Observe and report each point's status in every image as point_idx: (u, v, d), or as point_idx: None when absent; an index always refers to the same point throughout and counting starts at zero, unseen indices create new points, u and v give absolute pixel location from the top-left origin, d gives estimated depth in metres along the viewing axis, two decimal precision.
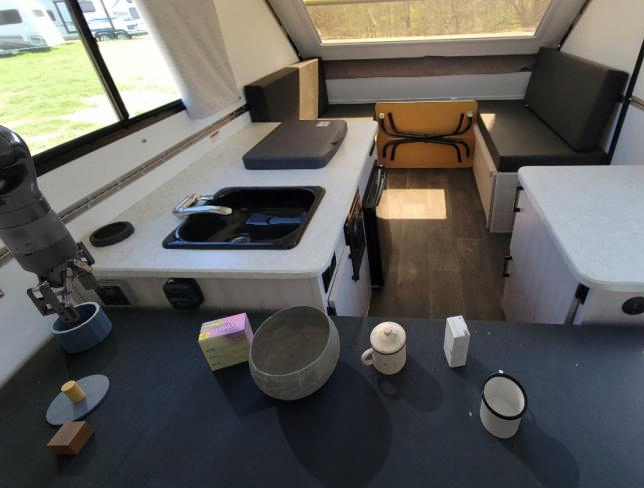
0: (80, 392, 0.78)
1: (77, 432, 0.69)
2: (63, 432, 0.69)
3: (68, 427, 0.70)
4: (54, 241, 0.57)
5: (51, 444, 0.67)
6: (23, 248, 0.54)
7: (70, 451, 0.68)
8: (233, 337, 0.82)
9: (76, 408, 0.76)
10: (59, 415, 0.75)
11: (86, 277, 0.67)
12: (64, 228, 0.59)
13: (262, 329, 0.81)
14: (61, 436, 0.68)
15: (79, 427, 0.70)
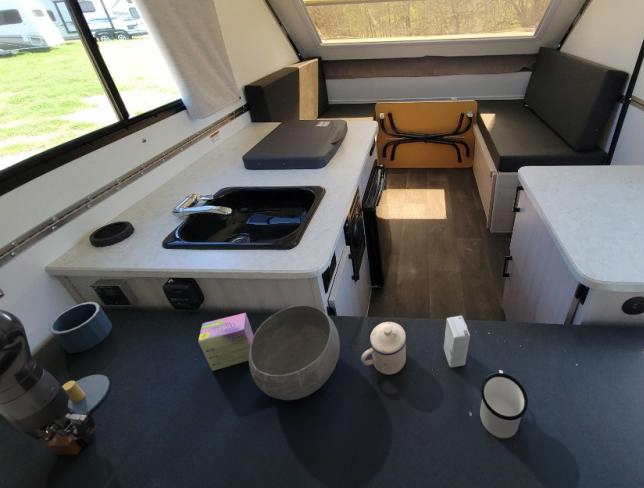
0: (80, 392, 0.78)
1: None
2: None
3: None
4: (57, 381, 0.65)
5: (51, 444, 0.67)
6: (49, 396, 0.62)
7: (70, 451, 0.68)
8: (233, 337, 0.82)
9: (76, 408, 0.76)
10: None
11: None
12: None
13: (262, 329, 0.81)
14: None
15: None
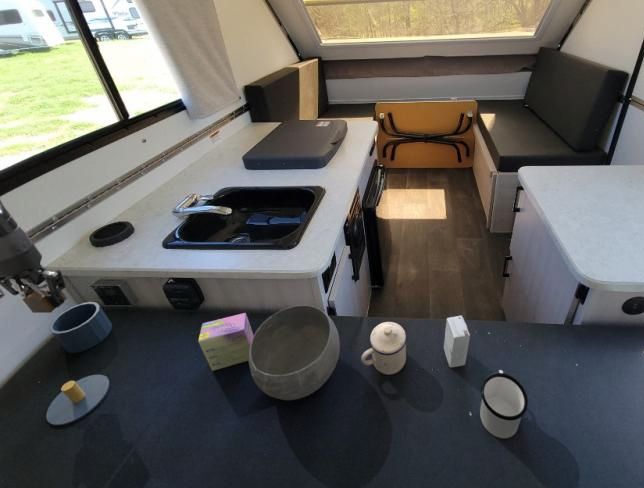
0: (80, 392, 0.78)
1: None
2: (38, 291, 0.78)
3: None
4: (31, 241, 0.75)
5: (26, 299, 0.76)
6: (22, 247, 0.72)
7: (43, 307, 0.78)
8: (233, 337, 0.82)
9: (76, 408, 0.76)
10: (59, 415, 0.75)
11: None
12: None
13: (262, 329, 0.81)
14: (36, 294, 0.78)
15: None
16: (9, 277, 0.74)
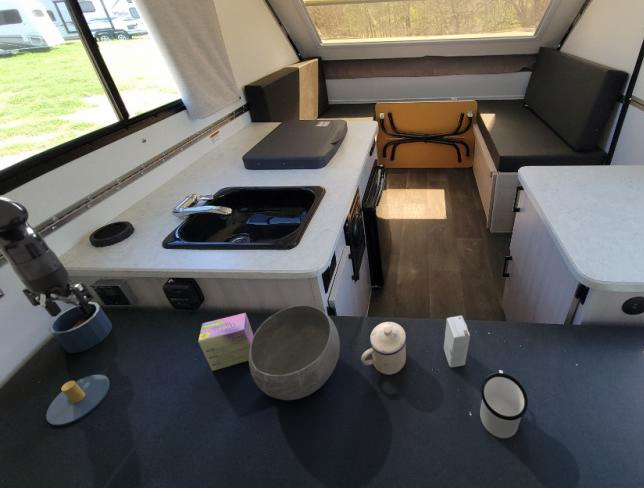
0: (80, 392, 0.78)
1: None
2: None
3: (82, 322, 0.93)
4: (59, 260, 0.84)
5: None
6: (53, 266, 0.81)
7: None
8: (233, 337, 0.82)
9: (76, 408, 0.76)
10: (59, 415, 0.75)
11: (53, 304, 0.88)
12: None
13: (262, 329, 0.81)
14: None
15: None
16: (39, 293, 0.84)
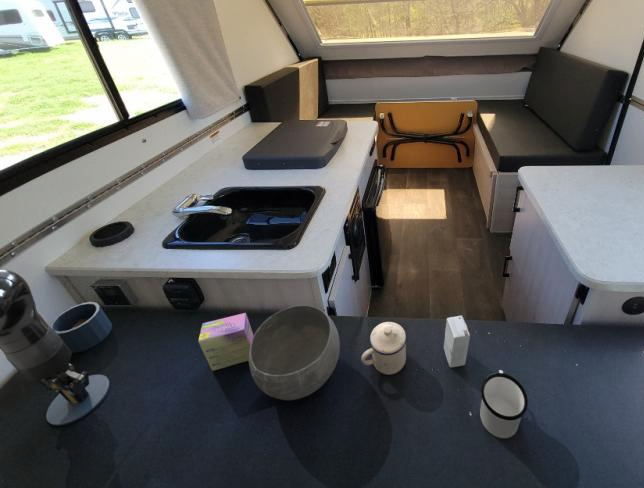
0: None
1: None
2: None
3: (82, 322, 0.93)
4: (62, 340, 0.72)
5: None
6: (51, 352, 0.69)
7: None
8: (233, 337, 0.82)
9: (76, 408, 0.76)
10: (59, 415, 0.75)
11: None
12: None
13: (262, 329, 0.81)
14: None
15: None
16: None
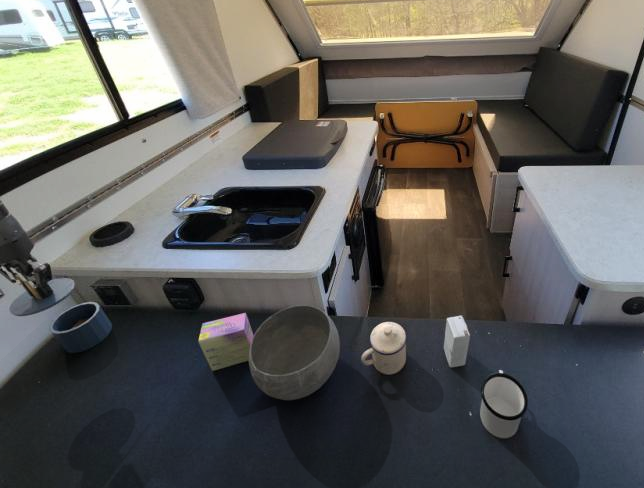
0: None
1: None
2: None
3: (82, 322, 0.93)
4: (23, 229, 0.73)
5: None
6: (11, 236, 0.70)
7: None
8: (233, 337, 0.82)
9: (39, 302, 0.77)
10: (22, 307, 0.76)
11: None
12: None
13: (262, 329, 0.81)
14: None
15: None
16: (2, 264, 0.74)
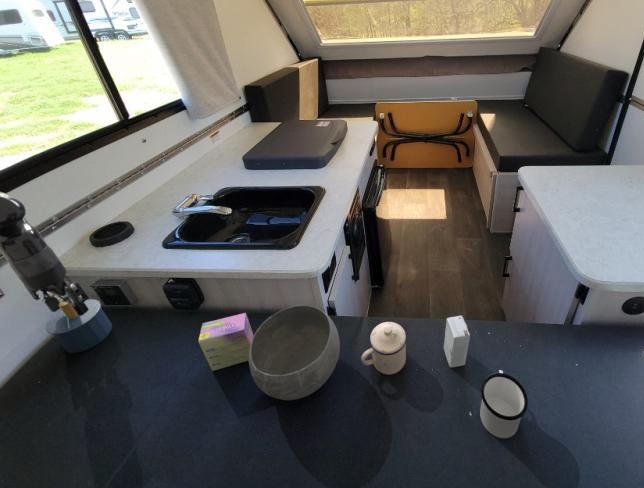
0: None
1: None
2: None
3: None
4: (58, 258, 0.84)
5: None
6: (48, 265, 0.80)
7: None
8: (233, 337, 0.82)
9: (71, 322, 0.88)
10: (57, 327, 0.86)
11: (53, 300, 0.88)
12: None
13: (262, 329, 0.81)
14: None
15: None
16: (38, 288, 0.84)
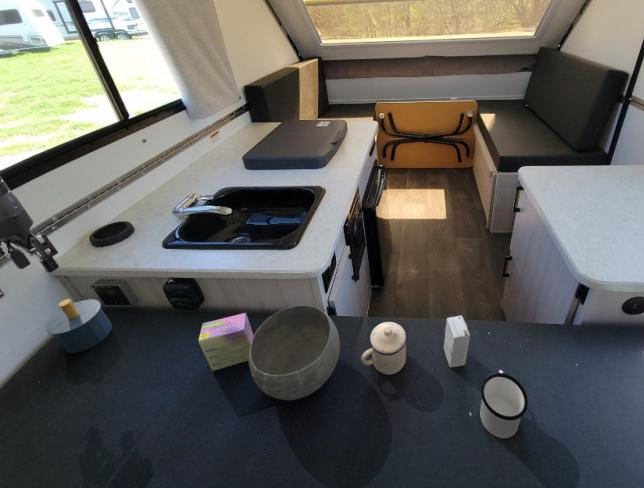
0: (75, 310, 0.89)
1: None
2: None
3: None
4: (23, 207, 0.76)
5: None
6: (11, 212, 0.73)
7: None
8: (233, 337, 0.82)
9: (71, 322, 0.88)
10: (57, 327, 0.86)
11: (20, 256, 0.81)
12: None
13: (262, 329, 0.81)
14: None
15: None
16: (2, 240, 0.77)
